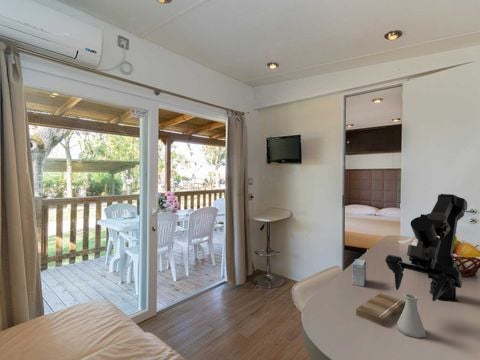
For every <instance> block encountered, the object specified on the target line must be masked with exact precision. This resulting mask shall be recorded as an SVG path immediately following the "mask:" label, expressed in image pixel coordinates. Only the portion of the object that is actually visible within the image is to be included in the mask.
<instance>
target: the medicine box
mask: <svg viewBox="0 0 480 360" xmlns="http://www.w3.org/2000/svg"><path fill="white" fill-rule="evenodd" d="M351 265H352V266H351V268H352V270H351V271H352V272H351V276H352V278H351V279H352V281H351V282H352V285H355V286H358V287H359V286H360V287H363V288H364V287H365V284H366V282H367V260H365V259H359V258H355V259H354V261H353V262H352V264H351Z"/></svg>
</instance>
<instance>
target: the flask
mask: <svg viewBox="0 0 480 360" xmlns="http://www.w3.org/2000/svg"><path fill="white" fill-rule="evenodd" d="M404 298H405V307H404V308H403V309H402V312H401V315H400V316H399V318H398V320H397V322H396V329H397V330H398V331H400V332H401V333H402V334H403V335H405V336H410V337H413V338H426V337H427V334H426V329H425V327H424V325H423V322H422V319H421V316H420V314H419V311H418V304H417V303H418V300H419V298H418V296H417V295H415V294H413V293H412V294H411V293H404Z"/></svg>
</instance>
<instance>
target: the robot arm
mask: <svg viewBox="0 0 480 360" xmlns="http://www.w3.org/2000/svg"><path fill="white" fill-rule="evenodd" d="M436 199H437V200H436V203H435V205H434V206H433V208H432V210H431V211H430V213H426V214H424V213H421V214H420V216H417V217H415V218H413V219H412V220H411V221H410V227H411V230H412V232H413V235H414V238H415V239H416V240H417V243H416V245H412V244H408V246H407V253H406V256H408V260H409V261H410V262H411V263H409V262H405V261H404V260H403V258H402V257H401V256H397V255H393V254H388V255H386V257H385V263H386V265H387V267H388V269H389V270H391V271H392V273H393V274H394V282H395V289H396V291H398V290H399V289H400V287H401V284H402V280H403V277H404V273H403V272H404V271H405V270H410V271H414V272H417V273H422V274H425V275H427V278H428V279H431V281H430V285H429V286H430V290H429V293H430V294H431V295H432V299H431V300H432V302H436V301H437V300H439V301H450V302H452V301H453V302H459V300H460V299H458V298H457V292H456V291H457V290H456V289H457V288H462V285H463V277H462V273H461V271H460V270H459V268H458V265H457V262H456V261H455V260H454V258H453V255H454V254H453V253H454V247H455V241H456V235H457V227H458V222H459V221H460V220H461V219H462V218H464V217H465V213H466V211H467V209H468V201H467V200H466V199H465V198H463V197H458V196H457V195H456V194H450V193H440V194H438V195H437V198H436Z"/></svg>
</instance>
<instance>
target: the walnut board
mask: <svg viewBox="0 0 480 360" xmlns="http://www.w3.org/2000/svg"><path fill="white" fill-rule="evenodd" d="M405 303H406V300H403V299H400V298H397V297H395V296H392V295H388V294H385V293H382V292H378V294H376V295H375V296H374V297H372V298H370V299H369V300H367V301H366V302H364V303H362V304H361V305H359V306H358V307H357V308H355V315H356V316H358V317H360V318H362V319H364V320H366V321H367V320H368V321H370V322H372V323H375V324H377V325H379V326H381V327H384V325H386V324H387V323H388V322H389V321H390V320H392V319H393V318H394V317H395V316H396V315H398V314H399V313H400V312H401V311H403V309H404V307H405Z"/></svg>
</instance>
